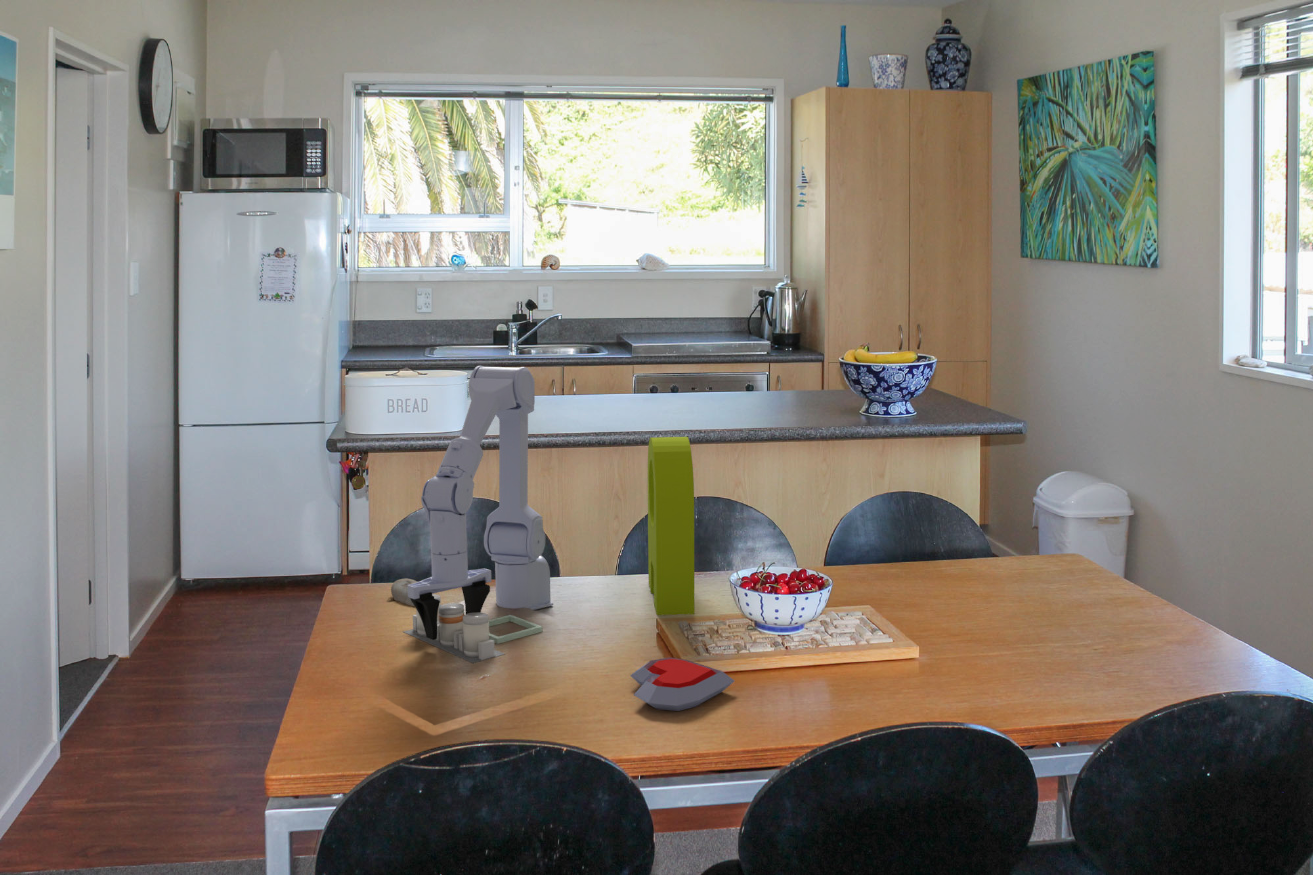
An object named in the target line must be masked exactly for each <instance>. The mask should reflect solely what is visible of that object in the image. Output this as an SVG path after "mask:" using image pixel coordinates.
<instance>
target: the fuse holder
mask: <svg viewBox="0 0 1313 875" xmlns="http://www.w3.org/2000/svg"><path fill="white" fill-rule="evenodd" d="M402 632H403V633H404V634H406V635H409V636H412V637H414V638H415V639H418V640H421V641H422V642H424V643H427V644H429V645H431V646H433V647H436V648H438V649H440V650H442V651H444V652H447V653H449V654H451V655H454V656H456V657H458V658H460V659H463V660H465V661H467V662H469V663H471V664H476V663H479V662H483V661H486V660H490V659H494V658H498V657H500V656H505V655H506V653H504V652H502V651H499V650H497V649H496V648H495V642H494V640H487V641H484V642H480V643H478V654H479V657H468V656H465V655H464V639H463V630H461V631H457V632H454V633H453V634H454V646H452V647H448V646H443V645H441V644H440V630H439V621H437V639H435V640H432V639H430V638H427V637H426V636H420V635H418V634H417V614H412V629H409V630H408V629H407V630H404V631H402Z"/></svg>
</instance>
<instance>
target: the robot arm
mask: <svg viewBox="0 0 1313 875" xmlns="http://www.w3.org/2000/svg"><path fill="white" fill-rule="evenodd" d="M535 383H536V382H535V378H534V377H533V375H532V373H531V371H530V369H529V368H528V367H526V366H520V367H513V366H512V367H506V366H505V367H504V366H503V367H502V366H483V365H477V366H476V367H474V369H473V370H472V372H471V374H470V376H469V382H468V393H469V398H470V402H469V403H470V404H469V407H468V410H467V414H466V416H465V420H464V423H463V426H462V429H461V432H460V436H458V437H456V438H453V439H452V440H450V442H449V445H448V447H447V448H446V451H445V453H444V456H443V458H442V459H441V460H442V461H441V463H440V464H439V467H438V470H437V472H436V474H435V476H432V478H430V479H428V480H426V481H425V483H424V485H423V488H422V492H421V494H422V495H421V497H420V500H421V501H420V502H421V505H422V507H423V509H424V511H425V517H426V518H425V520H426V522H427V524H429V530H430V531H429V535H430V536H429V537H430V557H431V560H430V561H431V562H430V563H431V576H430V577H428V578H425V579H422V580H420V581H417V583H414V584H410V585H407V589H408V597H410V599H411V601H412V603H413V604H414V606H413V607H414V608H415V609H417V611H418V613H419V615H420V617H421V620H422V623H423V626H424V629H425V633H426V637H427V638H430V639H432V640H435V639H437V614H438V608H439V603H440V601H439V600H437V599H434V596H432V594H437V593H442V592H445V591H451V590H455V589H459V588H461V590H462V593H463V594H462V596H463V600H464V612H465V614H468V613H475V612H481V613H482V609H483V607H484V603H485V602H486V600H487V597H488V596H489V594H490V592H491V586H490V585H489V584H486V583H491V582H492V570H491V569H487V568H485V567H484V568H478V569H470V570H469V567H468V566H469V564H468V562H469V561H468V538H467V536H468V535H467V532H468V531H467V512H468V511H469V510H470V508H471V506H472V504H473V500H474V499H473V498H474V488H475V482H474V478H475V477H476V476H475V475H476V474H477V470H478V469H479V466H480V463H481V461H482V458H483V457H484V450H483V449H482V447H481V444H482V441H483V440H484V438H485V435H487V432H488V431H489V429H490V427H491V426H492V422H493V420H494V419H495V417H497V418H498V421H499V424H498V425H499V427H498V428H499V434H498V435H499V436H498V438H499V443H498V444H499V448H498V450H499V452H498V453H499V456H498V457H499V459H498V460H499V464H498V465H499V466H498V468H499V470H498V472H499V473H498V474H499V475H498V479H499V482H498V483H499V485H498V486H499V488H498V493H499V497H498V500H499V503H498V505H499V506H498V507H497V508H495V510H493V511H492V512H491V513H489V514H488V516H487V517H486V526H485V531H484V535H483V546H484V549H485V551H486V553H487V555H488V556H490V559H491V561H493V562H494V564H495V565H494V566H495V567H494V571H495V572H494V574H495V598H496V599H495V601H496V602H495V603H496V604H495V605H497V606H498V607H500V608H505V609H522V608H523V609H524V608H527V609H530V610H532V611H536V610H540V609H544V608H548V607H552V606H554V602H553V601H551V598H552V597H551V572H550V571H551V570H550V566H549V563H548V562H547V560H546V559H545V557H544V556H543V553H544V551H545V547H546V533H545V530H544V523H543V522H544V521H543V516H542V515H541V514H539V512H537V511H536V510H534V508H533V507H531V506H530V505H529V504H528V503H529V502H528V498H529V495H528V493H529V492H528V491H529V490H528V489H529V484H528V482H529V479H528V477H529V473H528V472H529V471H528V470H529V464H528V463H529V449H528V448H529V446H528V445H529V414H531V413H534V411H535V400H536V399H535V398H536V397H535V395H536V394H535V390H536V389H535V387H536V384H535Z"/></svg>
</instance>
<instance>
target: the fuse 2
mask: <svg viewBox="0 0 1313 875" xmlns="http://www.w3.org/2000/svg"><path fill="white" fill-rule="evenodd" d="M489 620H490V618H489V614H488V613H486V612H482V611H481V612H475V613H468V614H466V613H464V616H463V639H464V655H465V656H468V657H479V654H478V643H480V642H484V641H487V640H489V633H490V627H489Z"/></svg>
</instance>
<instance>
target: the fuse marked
mask: <svg viewBox="0 0 1313 875" xmlns="http://www.w3.org/2000/svg"><path fill="white" fill-rule="evenodd" d="M464 615H465V604H462V603H460V602H449V603H448V602H447V603H443V604H441V605H440V606H439V630H440V644H441V645H443V646H448V647H452V646H454V634H453V633H454V632H457V631H461V630H463V616H464Z"/></svg>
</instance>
